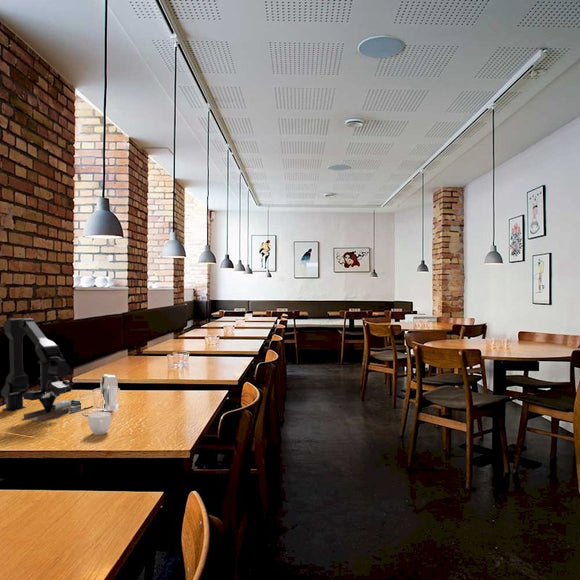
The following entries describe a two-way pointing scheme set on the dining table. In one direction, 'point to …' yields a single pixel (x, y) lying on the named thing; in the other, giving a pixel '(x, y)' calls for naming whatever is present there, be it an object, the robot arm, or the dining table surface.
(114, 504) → the dining table surface
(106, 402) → the beer glass
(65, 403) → the grey block
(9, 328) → the robot arm
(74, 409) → the slot board
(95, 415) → the cup
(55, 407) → the grey cube
